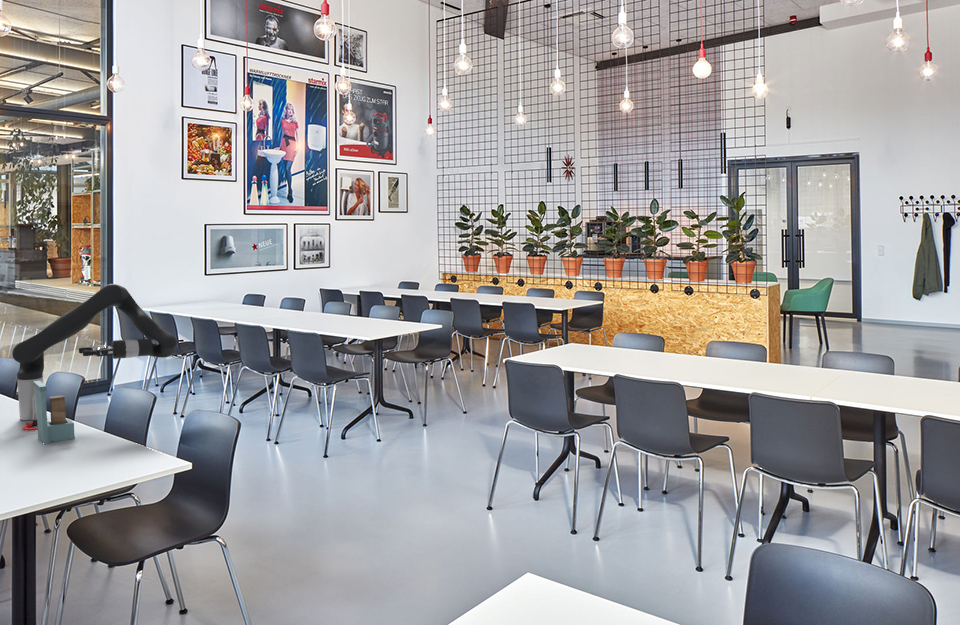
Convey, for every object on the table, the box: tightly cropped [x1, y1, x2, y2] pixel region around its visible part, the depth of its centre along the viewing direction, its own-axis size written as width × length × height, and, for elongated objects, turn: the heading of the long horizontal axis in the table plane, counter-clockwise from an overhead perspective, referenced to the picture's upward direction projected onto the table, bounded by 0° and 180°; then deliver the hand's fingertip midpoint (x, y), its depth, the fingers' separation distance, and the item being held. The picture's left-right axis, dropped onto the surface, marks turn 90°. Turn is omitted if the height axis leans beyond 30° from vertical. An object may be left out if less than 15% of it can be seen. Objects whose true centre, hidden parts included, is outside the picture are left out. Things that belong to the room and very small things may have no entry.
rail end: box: [49, 395, 67, 425], centre depth 275 cm, size 4×4×16 cm
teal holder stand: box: [33, 381, 76, 445], centre depth 274 cm, size 14×11×22 cm
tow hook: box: [22, 395, 38, 431], centre depth 290 cm, size 8×13×9 cm
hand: (80, 352), depth 286 cm, fingers open, 8 cm apart
